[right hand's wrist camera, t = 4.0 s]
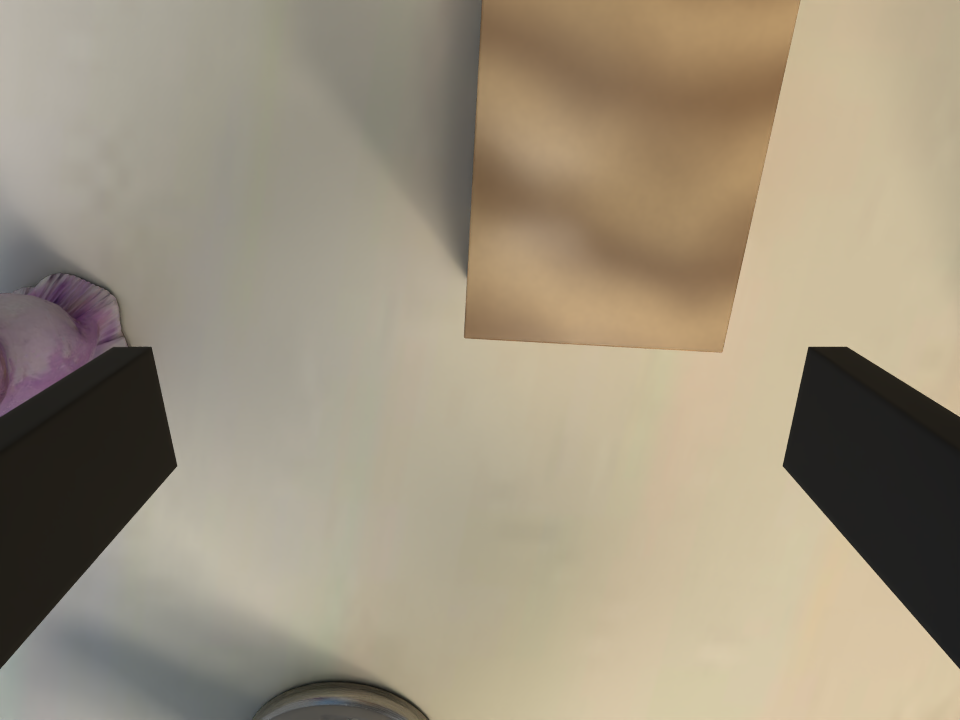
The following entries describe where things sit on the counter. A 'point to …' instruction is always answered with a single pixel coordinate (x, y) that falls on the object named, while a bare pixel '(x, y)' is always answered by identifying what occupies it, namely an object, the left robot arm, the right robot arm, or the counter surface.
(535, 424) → the counter surface
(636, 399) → the counter surface
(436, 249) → the counter surface
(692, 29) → the cabinet
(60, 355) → the figurine
